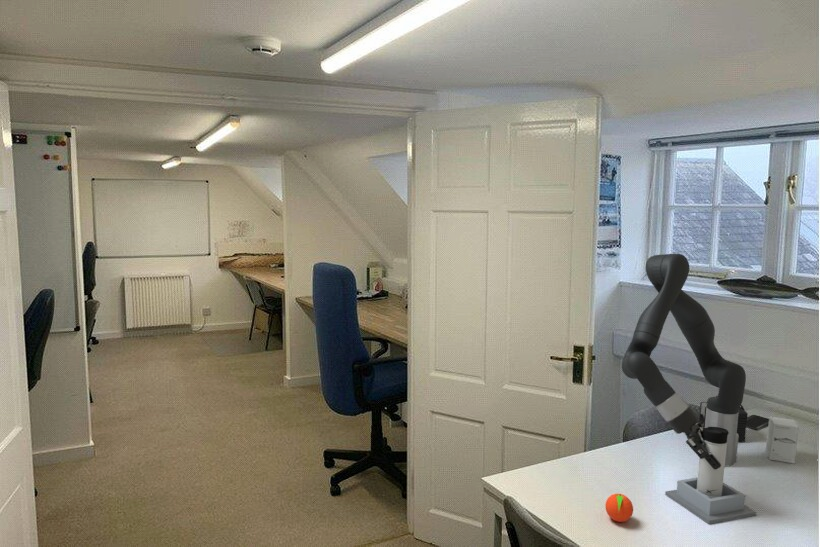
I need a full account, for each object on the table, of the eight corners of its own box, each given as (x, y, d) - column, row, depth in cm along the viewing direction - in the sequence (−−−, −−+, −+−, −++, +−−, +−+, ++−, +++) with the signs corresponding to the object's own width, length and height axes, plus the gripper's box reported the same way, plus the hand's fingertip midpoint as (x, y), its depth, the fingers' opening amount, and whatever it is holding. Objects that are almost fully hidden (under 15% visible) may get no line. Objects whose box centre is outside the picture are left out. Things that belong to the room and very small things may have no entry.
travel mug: (712, 504, 161) (719, 434, 158) (691, 493, 167) (697, 425, 164) (727, 499, 164) (734, 430, 161) (705, 489, 170) (712, 421, 167)
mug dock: (709, 487, 176) (711, 471, 175) (755, 515, 161) (757, 497, 160) (665, 494, 171) (666, 478, 170) (708, 524, 156) (710, 506, 155)
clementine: (632, 531, 152) (634, 505, 151) (603, 526, 154) (605, 500, 153) (632, 516, 159) (634, 491, 158) (605, 510, 161) (606, 486, 161)
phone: (774, 420, 228) (757, 429, 220) (774, 423, 229) (756, 432, 220) (753, 414, 235) (735, 422, 226) (752, 416, 235) (734, 425, 226)
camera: (694, 428, 221) (697, 389, 219) (734, 431, 219) (738, 392, 217) (704, 440, 210) (708, 399, 208) (746, 443, 208) (750, 402, 206)
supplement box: (769, 460, 195) (772, 423, 194) (765, 451, 202) (768, 415, 200) (795, 464, 192) (799, 427, 191) (790, 455, 199) (794, 419, 198)
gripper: (683, 413, 160) (729, 466, 156) (691, 398, 172) (733, 447, 168) (661, 427, 164) (705, 479, 159) (669, 411, 176) (710, 460, 171)
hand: (719, 462), depth 163 cm, fingers closed on travel mug, 6 cm apart
